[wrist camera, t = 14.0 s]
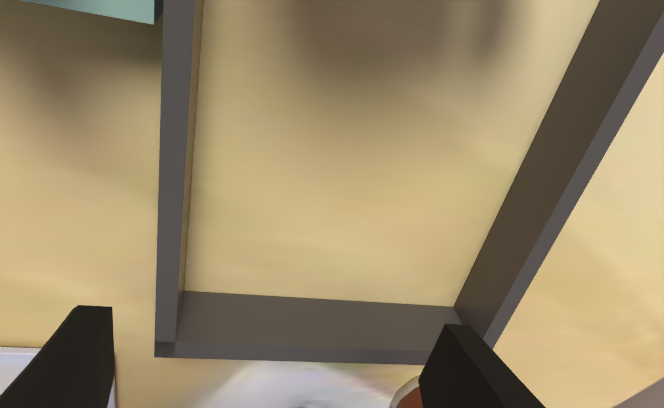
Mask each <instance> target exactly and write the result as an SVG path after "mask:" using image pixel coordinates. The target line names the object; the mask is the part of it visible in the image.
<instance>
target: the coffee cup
mask: <svg viewBox="0 0 664 408" xmlns="http://www.w3.org/2000/svg"><path fill="white" fill-rule="evenodd" d="M419 377H420V375H419V376H417V377H415V378H413V379H411V380H410V381H409V382H407V383H406V384H405V385H404V386H403V387H401V388H400V389H399V390H398V391H397V393H396V395H395V396H394V398H393V400H392V402H391V408H423V405H422V399H421V394H420V388H419V383H418V379H419Z"/></svg>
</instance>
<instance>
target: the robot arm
mask: <svg viewBox="0 0 664 408" xmlns="http://www.w3.org/2000/svg"><path fill="white" fill-rule="evenodd" d="M418 383H419V388H420V394H421V399H422V405H423V408H546V407H545V406H544V405H543V404H542V403H541V402H540V401H539V400H538V399H537V398H536V397H535V396H534V395H533V394H532V393H531V392H530V391H529V389H528V388H527V387H526V386H525V385H524V384H523V383H522V382H521V381H520V380H519V379H518V378H517V376H516V375H515V374H514V373H513V372H512V371H511V370H510V369H509V368H508V367H507V366H506V364H505V363H504V362H503V361H502V360H501V359H500V358H499V357H498V356H497V355H496V353H495V352H494V351H493V350H492V349H491V348H490V347H489V346H488V345H487V344H486V342H485V341H484V340H483V339H482V338H481V337H480V336H479V335H478V334H477V333H476V332H475V331H474V330H473V329H472V328H471V327H470V326H469V325H461V324H445V325H444V327H443V329H442V331H441V333H440V335H439V337H438V339H437V342H436V344H435V346H434V348H433V350H432V352H431V354H430V356H429V358H428V360H427V362H426V365H425V367H424V369H423V371H422V373H421V375H420V377H419V379H418ZM0 408H116V400H115V366H114V341H113V316H112V307H104V306H84V305H78V306H77V307H75V308H74V309H73V310H72V311H71V312H70V313H69V315H68V316H67V317H66V319H65V320H64V321H63V323H62V324H61V325H60V326H59V328H58V329H57V330H56V331H55V333H54V334H53V335H52V336H51V338H50V339H49V340H48V341H47V343H46V344H45V345H44V346H43V347H42V348H18V347H0Z"/></svg>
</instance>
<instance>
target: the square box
mask: <svg viewBox="0 0 664 408" xmlns="http://www.w3.org/2000/svg"><path fill="white" fill-rule="evenodd" d="M20 1H25V2H31V3H37V4H42V5H48V6H53V7H59V8H64V9H70V10H75V11H81V12H87V13H92V14H98V15H103V16H109V17H114V18H120V19H125V20H131V21H136V22H142V23H148V24H153V25H154V24H155V22H156V21H157V20H158V18H159V17H160V15H161V14H162V13H163V5H164V0H20Z"/></svg>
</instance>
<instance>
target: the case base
mask: <svg viewBox="0 0 664 408" xmlns="http://www.w3.org/2000/svg"><path fill="white" fill-rule="evenodd" d="M203 1H204V0H164V5H163V43H162V82H161V120H160V159H159V197H158V236H157V274H156V312H155V351H154V357H161V358H197V359H232V360H267V361H302V362H337V363H372V364H407V365H426V362H427V360H428V358H429V356H430V354H431V352H432V350H433V348H434V346H435V344H436V342H437V339H438V337H439V335H440V333H441V331H442V329H443V327H444V325H445V324H461V325H469V326H470V327H471V328H472V329H473V330H474V331H475V332H476V333H477V334H478V335H479V336H480V337H481V338H482V339H483V340H484V341H485V342H486V344H487V345H488V346H489V347H490V348H491V349H493V348H494V346H495V344H496V342H497V341H498V339H499V337H500V335H501V334H502V332H503V330H504V328H505V327H506V325H507V323H508V322H509V320H510V318H511V316H512V315H513V313H514V311H515V309H516V308H517V306H518V304H519V302H520V301H521V299H522V297H523V295H524V294H525V292H526V290H527V289H528V287H529V285H530V283H531V282H532V280H533V278H534V276H535V275H536V273H537V271H538V269H539V268H540V266H541V264H542V262H543V261H544V259H545V257H546V256H547V254H548V252H549V250H550V249H551V247H552V245H553V243H554V242H555V240H556V238H557V236H558V235H559V233H560V231H561V229H562V228H563V226H564V224H565V223H566V221H567V219H568V217H569V216H570V214H571V212H572V210H573V209H574V207H575V205H576V203H577V202H578V200H579V198H580V196H581V195H582V193H583V191H584V190H585V188H586V186H587V184H588V183H589V181H590V179H591V177H592V176H593V174H594V172H595V170H596V169H597V167H598V165H599V163H600V162H601V160H602V158H603V157H604V155H605V153H606V151H607V150H608V148H609V146H610V144H611V143H612V141H613V139H614V137H615V136H616V134H617V132H618V130H619V129H620V127H621V125H622V124H623V122H624V120H625V118H626V117H627V115H628V113H629V111H630V110H631V108H632V106H633V104H634V103H635V101H636V99H637V97H638V96H639V94H640V92H641V91H642V89H643V87H644V85H645V84H646V82H647V80H648V78H649V77H650V75H651V73H652V71H653V70H654V68H655V66H656V64H657V63H658V61H659V59H660V58H661V56H662V54H663V52H664V0H601V1H600V3H599V5H598V7H597V9H596V11H595V14H594V16H593V18H592V20H591V22H590V24H589V26H588V28H587V30H586V32H585V34H584V36H583V39H582V41H581V43H580V45H579V47H578V49H577V51H576V53H575V55H574V57H573V59H572V62H571V64H570V66H569V68H568V70H567V72H566V74H565V76H564V78H563V80H562V82H561V84H560V87H559V89H558V91H557V93H556V95H555V97H554V99H553V101H552V103H551V105H550V107H549V109H548V112H547V114H546V116H545V118H544V120H543V122H542V124H541V126H540V128H539V130H538V132H537V134H536V137H535V139H534V141H533V143H532V145H531V147H530V149H529V151H528V153H527V155H526V157H525V159H524V162H523V164H522V166H521V168H520V170H519V172H518V174H517V176H516V178H515V180H514V182H513V184H512V187H511V189H510V191H509V193H508V195H507V197H506V199H505V201H504V203H503V205H502V207H501V210H500V212H499V214H498V216H497V218H496V220H495V222H494V224H493V226H492V228H491V230H490V232H489V235H488V237H487V239H486V241H485V243H484V245H483V247H482V249H481V251H480V253H479V255H478V257H477V260H476V262H475V264H474V266H473V268H472V270H471V272H470V274H469V276H468V278H467V280H466V282H465V285H464V287H463V289H462V291H461V293H460V295H459V297H458V299H457V301H456V303H455V305H454V307H444V306H428V305H411V304H394V303H377V302H360V301H344V300H327V299H310V298H293V297H276V296H260V295H243V294H226V293H209V292H192V291H184V283H185V268H186V253H187V238H188V224H189V209H190V194H191V179H192V164H193V149H194V135H195V120H196V105H197V90H198V75H199V60H200V46H201V31H202V16H203Z"/></svg>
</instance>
